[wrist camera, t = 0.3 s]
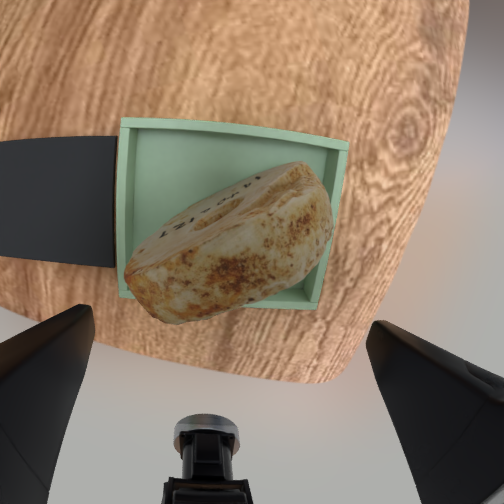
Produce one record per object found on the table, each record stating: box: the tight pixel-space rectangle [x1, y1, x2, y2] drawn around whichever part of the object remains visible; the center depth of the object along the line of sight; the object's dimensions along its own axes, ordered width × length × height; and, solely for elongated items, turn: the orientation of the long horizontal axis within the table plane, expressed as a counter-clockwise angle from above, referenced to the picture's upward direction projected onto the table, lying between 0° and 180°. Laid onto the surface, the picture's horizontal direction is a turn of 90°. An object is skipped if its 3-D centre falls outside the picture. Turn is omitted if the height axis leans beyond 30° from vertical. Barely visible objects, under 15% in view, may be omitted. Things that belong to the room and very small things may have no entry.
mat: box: [0, 136, 117, 268], centre depth 18 cm, size 9×12×1 cm
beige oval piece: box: [124, 161, 334, 325], centre depth 15 cm, size 10×4×10 cm, turn 115°
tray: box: [116, 117, 349, 310], centre depth 19 cm, size 11×13×2 cm
